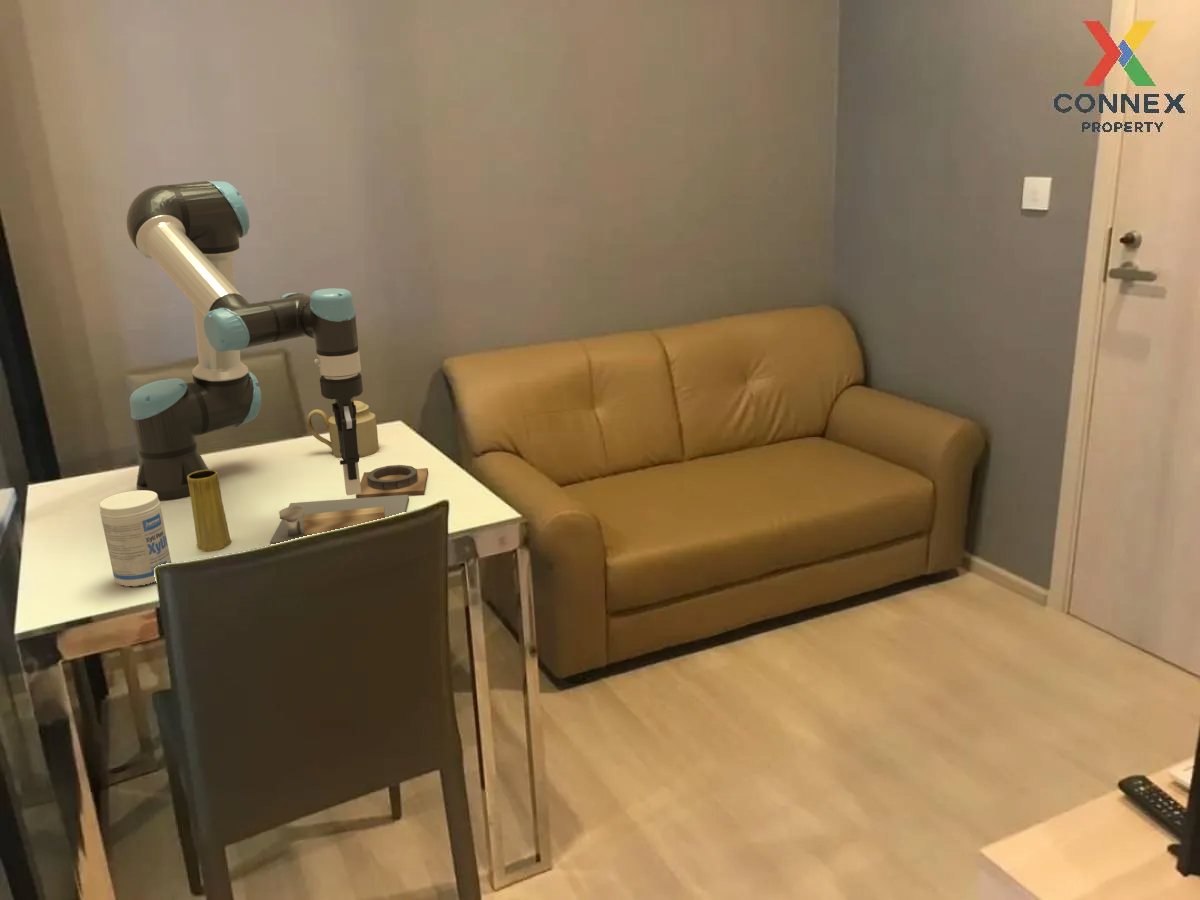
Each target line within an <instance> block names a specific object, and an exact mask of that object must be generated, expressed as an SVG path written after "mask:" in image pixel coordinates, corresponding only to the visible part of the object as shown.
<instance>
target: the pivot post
mask: <svg viewBox="0 0 1200 900" xmlns="http://www.w3.org/2000/svg"><path fill="white" fill-rule="evenodd" d="M286 524H287V531H288V536H290V537H296V536H299V535H301V528H300V521H299V518H298V519H295V520H286Z"/></svg>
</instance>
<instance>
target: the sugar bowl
mask: <svg viewBox="0 0 1200 900" xmlns="http://www.w3.org/2000/svg"><path fill="white" fill-rule="evenodd" d="M353 399H354V397H353V398H352V399H351V402H352V401H353V402H354V405H355V406H356V420H357V422H356V425H357V427H356V433H357V445H358V454H359V455H360V458H363V457H368V456H371V455H373V454H375V453H377V452H378V450H379V448H380V447H379V436H378V433H379V432H378V427H377V426H378V425H377V417H376V414H375V413H374V412H371V411H370V410H369V407H370V406H369V405H368V404H366V403H364V402H363V401H360V400H353ZM315 415H319V416H321V418H322V419H323V422H324V424H325V426H326V428H327V430H328V433H329V434H328V435H329V440H328V439H327V438H325V437H324V436H321V435H320V434H319V433H318V432H317V431H316V430H315V428H314V427H313V425H312V418H313V416H315ZM306 424H307V425H306V426H307V427H308V430H309V432H310V433H311V435H313V437H314V438H315V439H317V440H318V441H319V442H321V443H323V444H324V445H326V446H329V448H330V449H331V454H332V456H334V457H337V458H339V457H340V458H341V456H342V454H341V453H340V444H339V436H338V429H337V425H336V423H335V415H334V414H333V415H332V416H330V417H328V415H327V413H325V412H324V411H323V410H321V409H313V410H312V411H310V412H309V413H308V415H307V418H306ZM340 458H339V459H340ZM341 459H342V458H341Z"/></svg>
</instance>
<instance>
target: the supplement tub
mask: <svg viewBox="0 0 1200 900" xmlns="http://www.w3.org/2000/svg"><path fill="white" fill-rule="evenodd" d="M99 508H100V518H101V522H102V527H103V531H104V537H105V541H106V545H107V551H108V555H109V561H110V565H111V570H112V574H113V578H114V581H115V582H116V583H117V584H118V585H120V586H123V585H124V586H123V587H129V586H133V587H139V586H138V585H143V586H145V585H144V584H147V585H151V584H153V583H152V582H154V583H156V582H155V577H154V568H155V567H156V566H158V565H161V564H166V563H171V564H172V559H171V553H170V550H169V549H170V548H169V544H168V537H167V533H166V527H165V523H164V517H163V512H162V506H161V500H159V499H158V495H157V493H155V492H153V491H147V490H138V491H137V490H129V491H125V492H120V493H116V494H113V495H111V496H108V497H106V498H104V499H103V500H102V501H101V502H100V503H99ZM150 583H151V584H150Z"/></svg>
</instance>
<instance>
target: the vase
mask: <svg viewBox="0 0 1200 900" xmlns="http://www.w3.org/2000/svg"><path fill="white" fill-rule="evenodd" d="M218 475H219V474H218V471H217V470H216V469H209V470H200V471H196V472H193V473H190V474H189V475H188V476H187V480H188V486H189V491H190V495H189V499H190V503H191V508H192V516H193V517H192V518H193V523H194V530H195V531H194V533H195V537H196V548H197V550H199V551H202V552H215V551H220V550H222V549H225V548H227V547H228V546H230V545H231V544H232V539H231V536H230V532H229V526H228V521H227V517H226V513H225V508H224V504H223V498H222V492H221V487H220V482H219V481H220V480H219V476H218Z"/></svg>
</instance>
